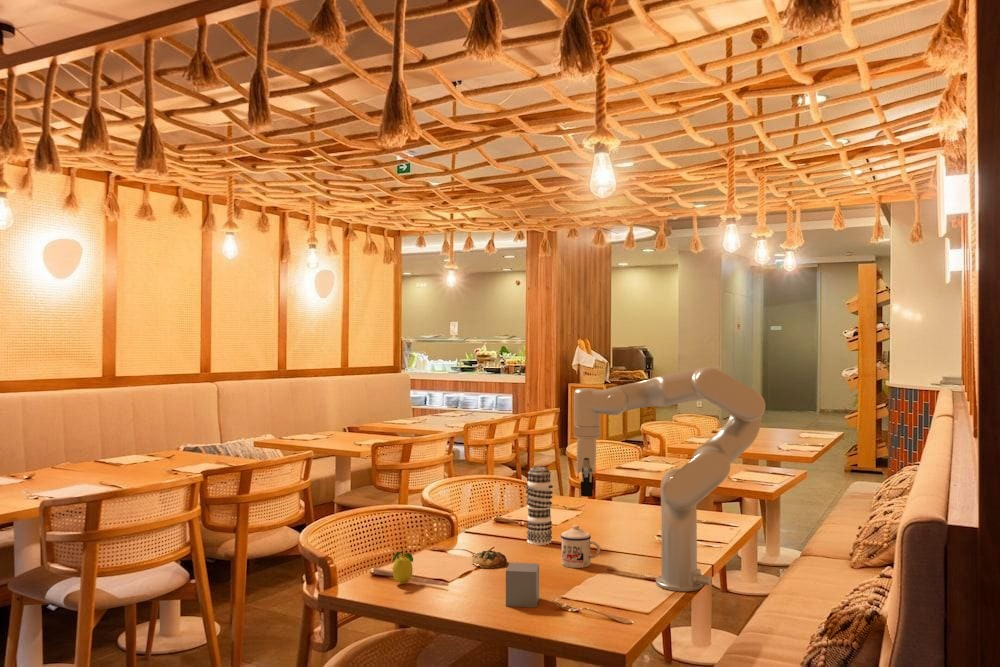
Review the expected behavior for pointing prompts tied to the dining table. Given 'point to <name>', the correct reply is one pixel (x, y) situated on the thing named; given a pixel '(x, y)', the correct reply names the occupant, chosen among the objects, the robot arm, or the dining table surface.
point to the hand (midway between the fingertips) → (587, 493)
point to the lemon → (402, 567)
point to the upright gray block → (522, 585)
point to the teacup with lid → (577, 548)
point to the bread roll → (489, 559)
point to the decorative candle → (539, 506)
